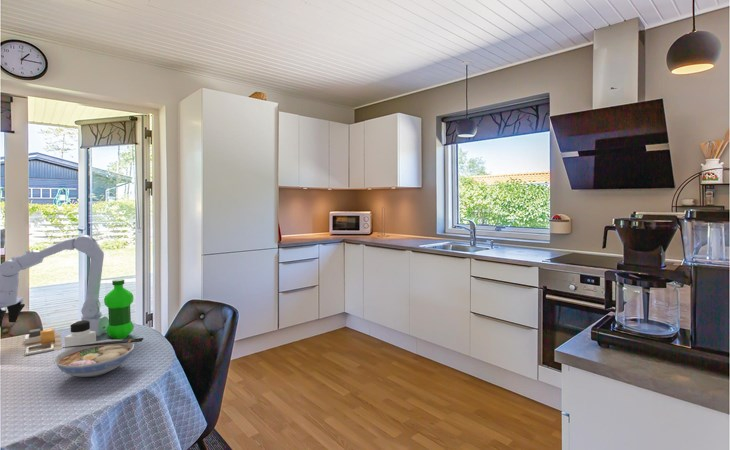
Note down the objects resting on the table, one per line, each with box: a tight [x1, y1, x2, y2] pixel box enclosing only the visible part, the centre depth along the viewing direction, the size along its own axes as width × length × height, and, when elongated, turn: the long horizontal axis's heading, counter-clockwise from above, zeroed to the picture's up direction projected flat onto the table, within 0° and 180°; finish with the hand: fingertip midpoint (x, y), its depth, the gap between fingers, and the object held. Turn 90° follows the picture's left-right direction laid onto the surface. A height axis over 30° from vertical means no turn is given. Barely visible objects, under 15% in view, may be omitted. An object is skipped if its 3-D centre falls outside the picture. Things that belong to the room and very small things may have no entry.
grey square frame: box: [24, 342, 54, 357], centre depth 146 cm, size 8×8×1 cm
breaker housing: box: [24, 334, 41, 344], centre depth 156 cm, size 6×6×2 cm
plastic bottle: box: [103, 278, 134, 340], centre depth 163 cm, size 10×10×25 cm
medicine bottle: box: [64, 319, 97, 351], centre depth 148 cm, size 7×7×12 cm
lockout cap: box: [40, 328, 56, 344], centre depth 153 cm, size 4×4×5 cm
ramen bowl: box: [53, 337, 144, 378], centre depth 130 cm, size 25×23×8 cm
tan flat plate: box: [23, 332, 63, 357], centre depth 152 cm, size 23×11×2 cm, turn 40°
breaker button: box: [28, 328, 42, 338], centre depth 156 cm, size 3×3×2 cm
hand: (4, 324), depth 149 cm, fingers open, 7 cm apart
